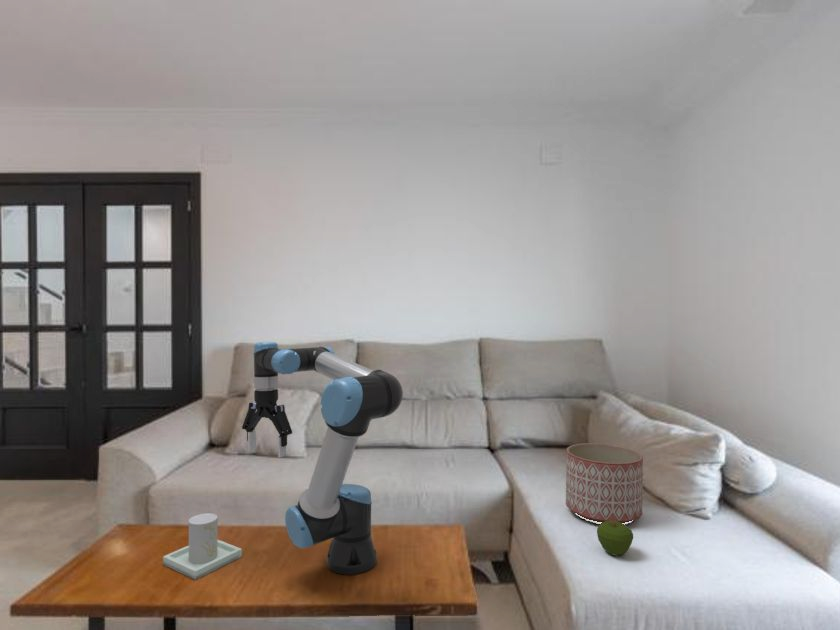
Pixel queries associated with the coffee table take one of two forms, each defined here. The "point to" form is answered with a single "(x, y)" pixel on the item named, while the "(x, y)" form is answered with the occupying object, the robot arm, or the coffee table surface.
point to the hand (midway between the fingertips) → (266, 453)
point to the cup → (203, 538)
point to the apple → (614, 537)
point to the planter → (604, 482)
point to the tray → (196, 571)
